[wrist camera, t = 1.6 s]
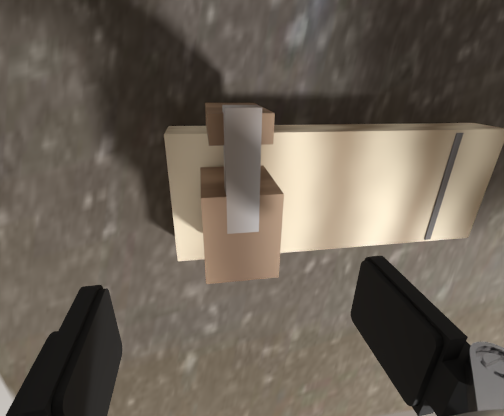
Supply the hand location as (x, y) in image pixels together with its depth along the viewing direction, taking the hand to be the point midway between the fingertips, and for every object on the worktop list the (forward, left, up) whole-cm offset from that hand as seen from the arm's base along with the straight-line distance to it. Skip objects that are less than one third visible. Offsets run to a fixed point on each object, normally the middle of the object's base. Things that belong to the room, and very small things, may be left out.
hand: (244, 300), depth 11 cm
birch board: (-9, 0, -13) cm, 15 cm away
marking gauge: (-1, -2, -10) cm, 11 cm away
